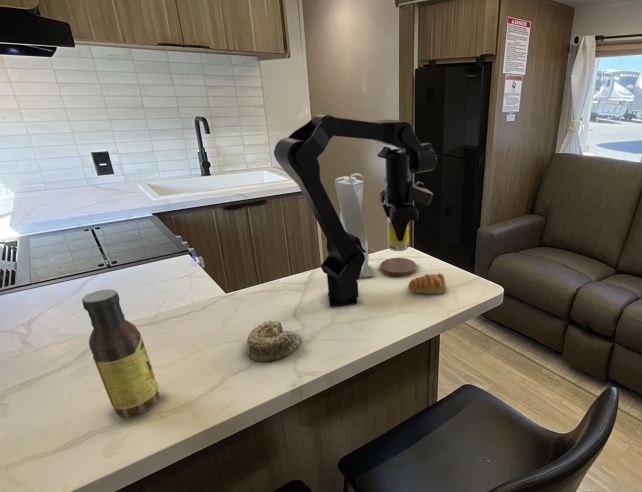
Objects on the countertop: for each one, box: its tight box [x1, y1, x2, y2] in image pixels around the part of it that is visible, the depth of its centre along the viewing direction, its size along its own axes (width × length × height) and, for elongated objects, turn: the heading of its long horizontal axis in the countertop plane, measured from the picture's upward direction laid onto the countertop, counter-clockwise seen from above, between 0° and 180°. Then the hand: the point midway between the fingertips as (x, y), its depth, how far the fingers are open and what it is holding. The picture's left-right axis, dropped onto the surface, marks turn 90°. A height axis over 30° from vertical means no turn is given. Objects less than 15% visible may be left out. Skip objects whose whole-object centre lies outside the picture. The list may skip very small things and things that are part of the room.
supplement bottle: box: [386, 217, 410, 252], centre depth 101 cm, size 6×6×10 cm
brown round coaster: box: [380, 257, 417, 277], centre depth 113 cm, size 10×10×1 cm
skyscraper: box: [334, 172, 374, 280], centre depth 104 cm, size 8×8×28 cm
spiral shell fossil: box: [246, 320, 300, 362], centre depth 78 cm, size 10×10×5 cm
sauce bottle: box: [81, 288, 160, 418], centre depth 60 cm, size 6×6×20 cm
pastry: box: [408, 272, 447, 295], centre depth 102 cm, size 9×7×4 cm
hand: (398, 237), depth 102 cm, fingers closed on supplement bottle, 5 cm apart
